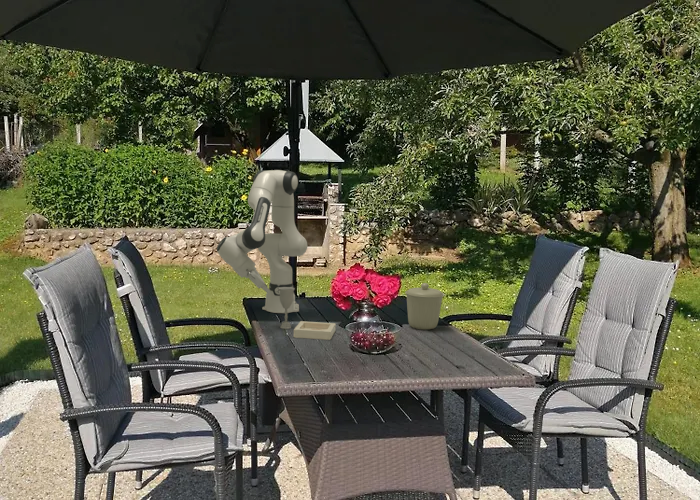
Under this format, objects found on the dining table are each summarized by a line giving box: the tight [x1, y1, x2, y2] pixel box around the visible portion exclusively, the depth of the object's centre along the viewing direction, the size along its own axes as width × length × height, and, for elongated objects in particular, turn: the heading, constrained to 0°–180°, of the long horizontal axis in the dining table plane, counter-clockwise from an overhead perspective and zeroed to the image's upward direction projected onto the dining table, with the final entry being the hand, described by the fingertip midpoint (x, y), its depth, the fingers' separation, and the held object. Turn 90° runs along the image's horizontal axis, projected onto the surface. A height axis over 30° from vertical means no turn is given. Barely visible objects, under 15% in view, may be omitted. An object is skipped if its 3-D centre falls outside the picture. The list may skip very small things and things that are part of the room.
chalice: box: [279, 287, 296, 330], centre depth 312 cm, size 7×7×18 cm
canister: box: [404, 282, 445, 331], centre depth 321 cm, size 18×18×21 cm
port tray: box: [293, 320, 337, 341], centre depth 302 cm, size 16×16×4 cm
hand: (267, 289), depth 309 cm, fingers open, 8 cm apart
